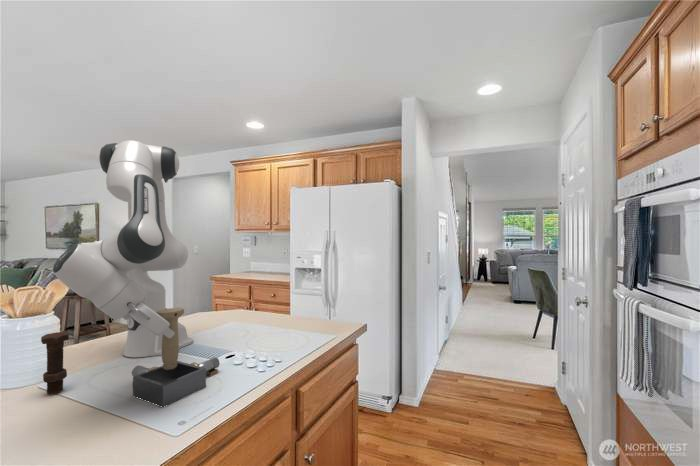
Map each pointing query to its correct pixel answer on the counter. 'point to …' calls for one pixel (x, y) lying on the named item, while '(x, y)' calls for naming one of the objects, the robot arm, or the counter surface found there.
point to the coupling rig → (171, 381)
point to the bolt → (54, 361)
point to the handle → (171, 344)
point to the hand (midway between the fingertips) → (169, 333)
